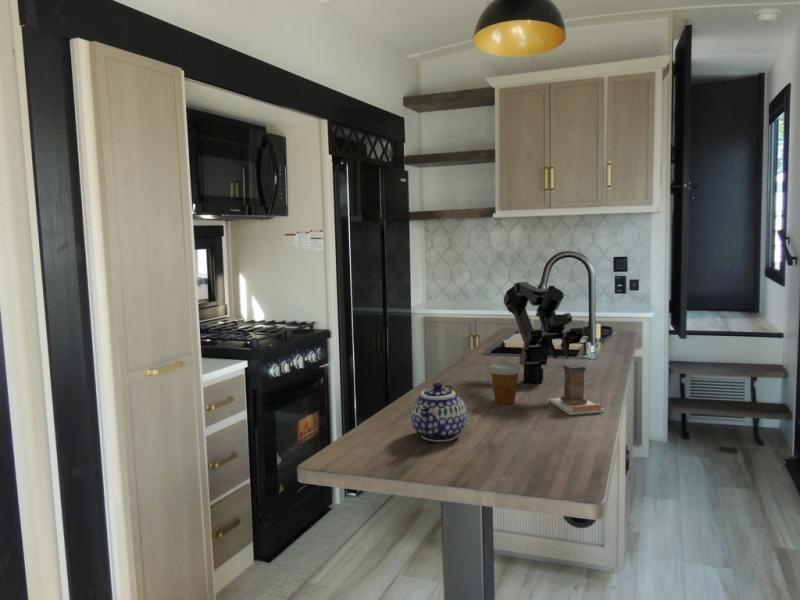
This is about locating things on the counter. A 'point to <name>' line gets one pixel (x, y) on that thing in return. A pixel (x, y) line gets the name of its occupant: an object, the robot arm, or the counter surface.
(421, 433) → the teapot
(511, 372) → the disposable coffee cup
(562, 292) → the robot arm
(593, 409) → the thin white base plate
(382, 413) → the counter surface
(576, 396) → the brown wooden pedestal
